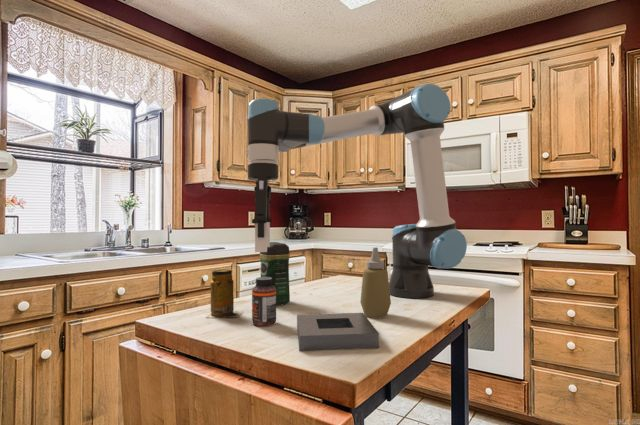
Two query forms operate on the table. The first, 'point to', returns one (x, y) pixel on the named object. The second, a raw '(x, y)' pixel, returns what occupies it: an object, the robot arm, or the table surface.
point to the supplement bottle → (264, 302)
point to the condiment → (222, 295)
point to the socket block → (336, 332)
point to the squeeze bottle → (375, 288)
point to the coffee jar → (277, 270)
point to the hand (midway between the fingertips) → (262, 249)
